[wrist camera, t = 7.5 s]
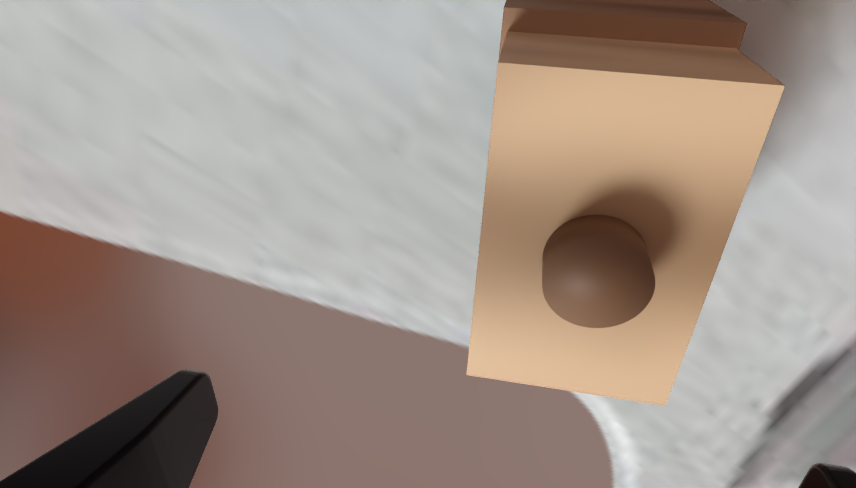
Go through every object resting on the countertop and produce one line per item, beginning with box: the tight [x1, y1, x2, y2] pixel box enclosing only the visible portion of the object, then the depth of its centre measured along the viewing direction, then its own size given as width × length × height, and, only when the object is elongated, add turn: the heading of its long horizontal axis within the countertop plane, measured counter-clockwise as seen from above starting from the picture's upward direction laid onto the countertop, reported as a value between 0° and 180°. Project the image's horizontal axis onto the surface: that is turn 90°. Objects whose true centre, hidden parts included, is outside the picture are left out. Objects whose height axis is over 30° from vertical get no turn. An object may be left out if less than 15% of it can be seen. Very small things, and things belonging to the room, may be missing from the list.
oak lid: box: [467, 31, 785, 406], centre depth 13 cm, size 8×5×4 cm, turn 177°
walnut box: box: [499, 0, 747, 57], centre depth 16 cm, size 9×5×4 cm, turn 177°
